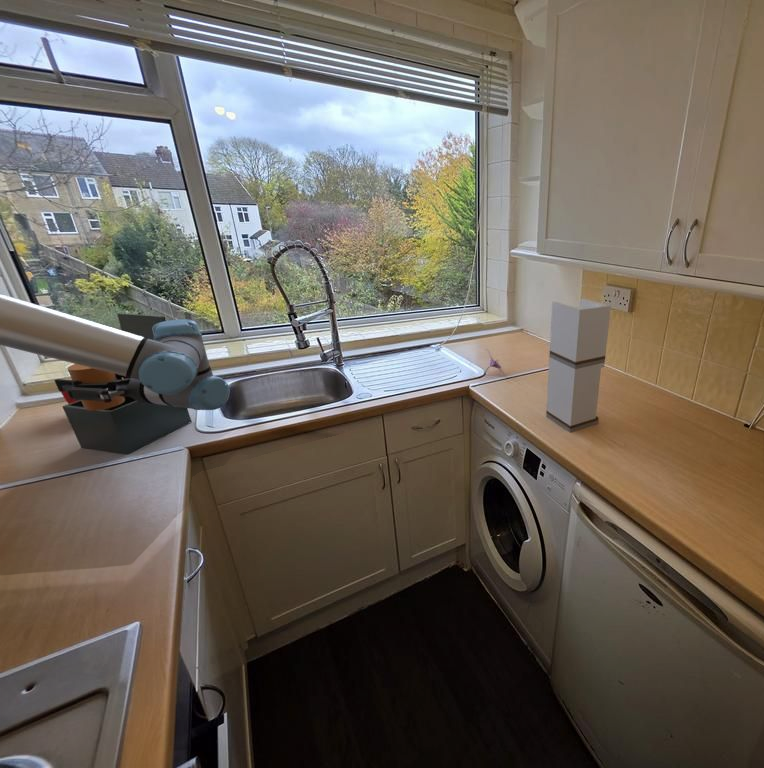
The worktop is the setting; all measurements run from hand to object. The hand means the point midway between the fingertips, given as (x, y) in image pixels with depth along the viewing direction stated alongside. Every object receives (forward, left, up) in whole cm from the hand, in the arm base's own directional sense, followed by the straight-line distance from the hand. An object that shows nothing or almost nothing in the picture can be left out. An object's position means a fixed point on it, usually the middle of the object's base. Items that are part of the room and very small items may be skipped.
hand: (78, 378), depth 95 cm
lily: (+101, +45, -20) cm, 113 cm away
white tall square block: (+121, +5, -20) cm, 123 cm away
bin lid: (+4, +17, +2) cm, 18 cm away
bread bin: (+1, +8, -20) cm, 21 cm away
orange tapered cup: (+5, -2, -6) cm, 8 cm away
